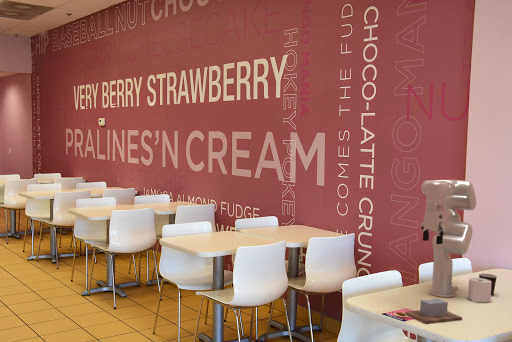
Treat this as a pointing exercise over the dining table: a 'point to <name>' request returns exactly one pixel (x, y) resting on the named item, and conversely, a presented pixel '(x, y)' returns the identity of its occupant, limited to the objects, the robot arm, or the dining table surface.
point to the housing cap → (433, 307)
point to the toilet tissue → (479, 290)
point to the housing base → (430, 320)
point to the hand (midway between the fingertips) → (432, 242)
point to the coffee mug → (491, 278)
